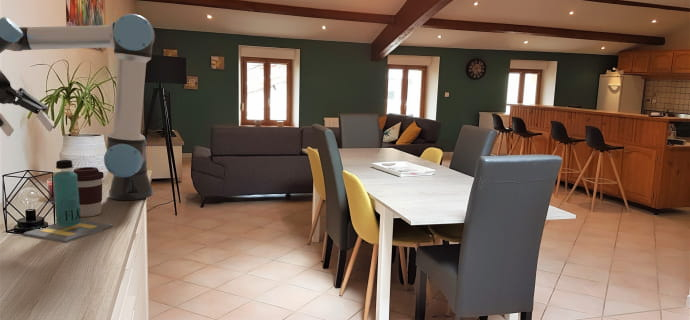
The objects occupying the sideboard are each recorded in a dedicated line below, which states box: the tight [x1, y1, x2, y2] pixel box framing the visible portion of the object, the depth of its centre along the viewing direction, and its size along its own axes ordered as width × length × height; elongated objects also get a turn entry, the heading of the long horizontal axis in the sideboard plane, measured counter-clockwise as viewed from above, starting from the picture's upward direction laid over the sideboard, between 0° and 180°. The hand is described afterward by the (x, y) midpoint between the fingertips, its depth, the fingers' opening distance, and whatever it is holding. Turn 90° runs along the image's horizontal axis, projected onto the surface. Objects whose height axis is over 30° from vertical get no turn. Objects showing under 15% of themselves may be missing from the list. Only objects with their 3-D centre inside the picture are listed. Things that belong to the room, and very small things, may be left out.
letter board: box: [23, 219, 113, 243], centre depth 145 cm, size 16×16×1 cm
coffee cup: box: [72, 166, 105, 218], centre depth 161 cm, size 10×10×15 cm
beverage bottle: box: [52, 159, 82, 226], centre depth 144 cm, size 6×7×20 cm
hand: (32, 130), depth 151 cm, fingers open, 13 cm apart
